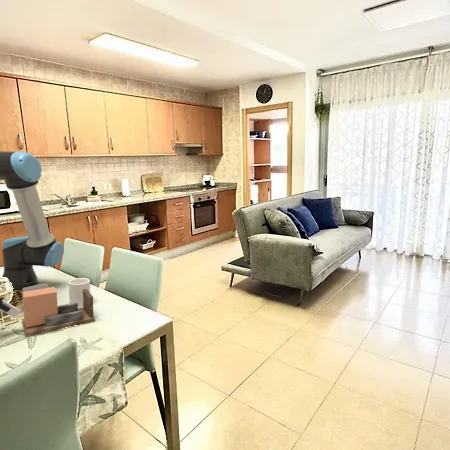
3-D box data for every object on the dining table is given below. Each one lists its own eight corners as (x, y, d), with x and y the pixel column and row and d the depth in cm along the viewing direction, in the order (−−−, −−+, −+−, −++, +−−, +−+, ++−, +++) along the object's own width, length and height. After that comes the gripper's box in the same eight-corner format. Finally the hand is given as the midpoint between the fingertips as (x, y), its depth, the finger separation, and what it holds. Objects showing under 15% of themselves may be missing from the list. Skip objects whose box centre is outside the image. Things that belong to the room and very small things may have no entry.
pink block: (25, 327, 111) (23, 297, 109) (24, 320, 116) (22, 291, 114) (58, 320, 117) (56, 292, 115) (55, 314, 122) (54, 286, 120)
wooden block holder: (25, 337, 109) (23, 310, 107) (22, 323, 118) (20, 298, 117) (94, 321, 122) (94, 297, 120) (87, 309, 131) (86, 287, 130)
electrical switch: (26, 312, 127) (24, 289, 126) (21, 309, 131) (19, 287, 130) (51, 305, 135) (49, 283, 134) (46, 302, 138) (44, 281, 137)
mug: (84, 295, 146) (83, 274, 145) (93, 303, 137) (92, 281, 136) (64, 298, 141) (64, 277, 140) (72, 308, 132) (72, 285, 131)
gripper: (-59, 278, 103) (7, 315, 115) (-64, 291, 93) (9, 330, 105) (-39, 260, 105) (24, 298, 118) (-42, 271, 95) (27, 312, 107)
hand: (17, 313), depth 111 cm, fingers closed
